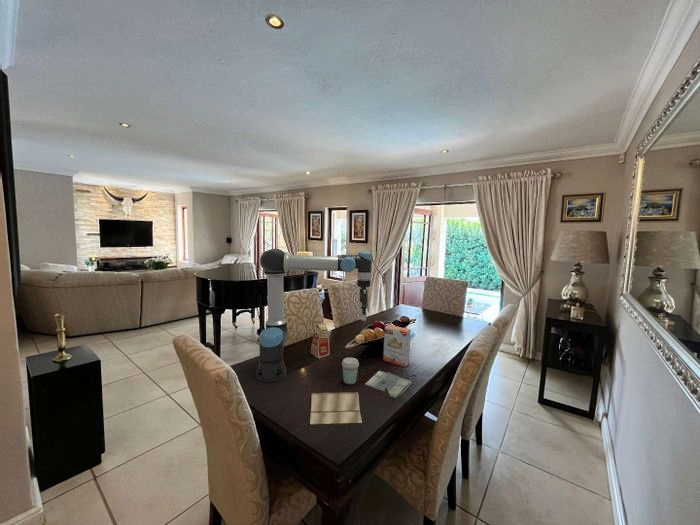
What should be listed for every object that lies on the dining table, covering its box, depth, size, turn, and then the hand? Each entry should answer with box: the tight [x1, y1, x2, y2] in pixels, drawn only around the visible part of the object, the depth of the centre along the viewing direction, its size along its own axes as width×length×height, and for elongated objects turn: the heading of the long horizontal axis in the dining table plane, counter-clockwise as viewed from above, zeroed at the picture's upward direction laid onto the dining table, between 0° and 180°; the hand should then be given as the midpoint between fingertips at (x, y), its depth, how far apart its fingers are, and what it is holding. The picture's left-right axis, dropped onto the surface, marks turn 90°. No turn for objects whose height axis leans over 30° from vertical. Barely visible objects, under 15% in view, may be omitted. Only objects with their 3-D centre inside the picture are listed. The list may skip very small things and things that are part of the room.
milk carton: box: [310, 322, 330, 359], centre depth 177 cm, size 9×9×20 cm
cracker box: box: [382, 324, 411, 368], centre depth 168 cm, size 14×6×21 cm, turn 55°
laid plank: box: [309, 410, 363, 425], centre depth 115 cm, size 20×8×2 cm, turn 95°
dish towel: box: [364, 370, 413, 400], centre depth 143 cm, size 19×18×3 cm
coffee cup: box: [341, 356, 360, 385], centre depth 143 cm, size 8×9×12 cm
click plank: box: [310, 391, 361, 413], centre depth 122 cm, size 20×8×2 cm
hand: (362, 316), depth 163 cm, fingers open, 13 cm apart
